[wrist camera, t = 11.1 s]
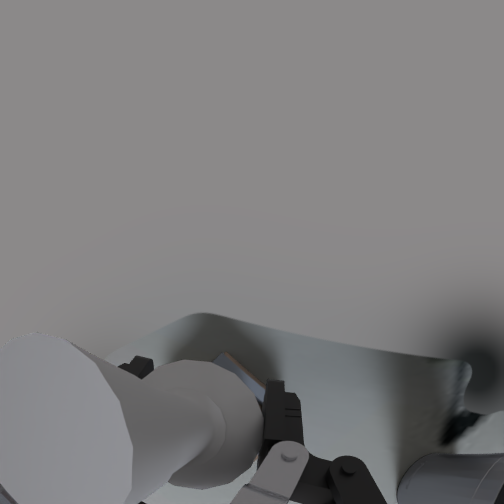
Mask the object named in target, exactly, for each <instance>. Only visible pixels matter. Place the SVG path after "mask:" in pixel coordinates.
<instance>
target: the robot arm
mask: <svg viewBox="0 0 504 504" xmlns="http://www.w3.org/2000/svg"><path fill="white" fill-rule="evenodd" d="M118 368H120V369H123V370H125V371H127V372H129V373H131V374H133V375H135V376H136V377H138V378H140V379H141V380H142V379H143V378H144V377H146V376H147V375H148V374H150V373H151V372H152V371H154V365H153V360H152V359H149V358H145V357H141V356H135V357H134V359H133V360H132V361H131V362H130V364H127V363H124V364H122V365H120V366H118ZM262 415H263V417H264V427H263V438H262V445H261V449H260V450H259V452H258V461H257V472H256V473H255V475H254V476H253V478H252V479H251V481H250V482H249V483H248V484H245V485H244V486H243V487H242V488H241V489H240V491H239V492H238V494H237V495H236V496H235V498H234V499H233V500H232V502H231V503H230V504H287V503H288V501H289V500H291V501H294V502H298V503H302V504H387V502H386V501H385V499H384V497H383V495H382V494H381V492H380V490H379V488H378V486H377V485H376V483H375V481H374V479H373V478H372V476H371V474H370V472H369V470H368V469H367V467H366V465H365V464H364V462H363V461H361V460H360V459H358V458H356V457H353V456H341V457H338V458H336V459H335V460H333V461H329V460H325V459H321V458H317V457H315V456H313V455H312V454H310V453H309V452H308V450H307V449H306V448H305V446H304V439H303V426H302V418H301V417H302V415H301V404H300V400H299V398H298V397H297V395H296V394H295V393H289V392H285V388H284V381H280V380H270V379H267V384H266V389H265V395H264V400H263V406H262ZM397 499H398V504H504V453H492V454H442V453H433V454H429V455H426V456H424V457H422V458H421V459H419V460H418V461H416V462H415V463H414V464H413V465H412V466H411V467H410V468H409V469H408V471H407V472H406V473H405V475H404V477H403V478H402V480H401V483H400V485H399V489H398V494H397ZM0 504H18V503H17V502H16V501H15V500H14V498H13V497H12V496H11V495H10V494H9V493H8V492H7V491H6V490H5V488H4V487H3V486H2V485H1V484H0ZM138 504H146V503H144V502H142V501H141V502H140V503H138Z"/></svg>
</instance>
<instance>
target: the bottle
mask: <svg viewBox="0 0 504 504" xmlns="http://www.w3.org/2000/svg"><path fill="white" fill-rule="evenodd" d="M263 427H264V417H263V415H262V412H261V410H260V407H259V405H258V402H257V400H256V397H255V395H254V393H253V392H252V391H251V390H250V389H249V388H248V387H247V386H246V385H245V384H244V383H243V382H242V380H241V379H240V378H239V377H238V376H237V375H236V374H235V373H232V372H230V371H228V370H226V369H224V368H222V367H220V366H218V365H216V364H214V363H212V362H205V361H195V360H185V359H184V360H180V361H176V362H173V363H169V364H165V365H162V366H159V367H157V368H156V369H155V370H154V371H152V372H151V373H150V374H148V375H147V376H146V377H144V378H143V379H142V380H141V379H140V378H138V377H136V376H135V375H133V374H131V373H129V372H127V371H125V370H123V369H120V368H118V367H116V366H114V365H112V364H110V363H108V362H106V361H104V360H102V359H100V358H98V357H97V356H95V355H93V354H91V353H89V352H87V351H85V350H83V349H82V348H80V347H78V346H76V345H75V344H73V343H71V342H69V341H68V340H66V339H62V338H58V337H54V336H50V335H46V334H42V333H39V332H36V333H32V334H28V335H24V336H21V337H17V338H13V339H11V340H10V341H9V342H8V343H7V344H5V345H4V346H3V347H2V348H1V349H0V484H1V485H2V486H3V487H4V488H5V490H6V491H7V492H8V493H9V494H10V495H11V496H12V497H13V498H14V500H15V501H16V502H17V503H18V504H138V503H140V502H141V501H142V500H144V499H145V498H147V497H148V496H149V495H151V494H152V493H154V492H155V491H156V490H158V489H159V488H160V487H162V486H163V485H164V484H166V483H167V482H169V483H171V484H173V485H175V486H181V487H187V488H194V489H202V490H203V489H207V488H212V487H216V486H220V485H224V484H228V483H230V482H232V481H233V480H234V479H236V478H237V477H238V476H240V475H241V474H242V473H244V472H245V471H246V470H248V469H249V468H250V467H251V466H252V464H253V462H254V460H255V458H256V456H257V454H258V452H259V450H260V449H261V445H262V438H263Z"/></svg>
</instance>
